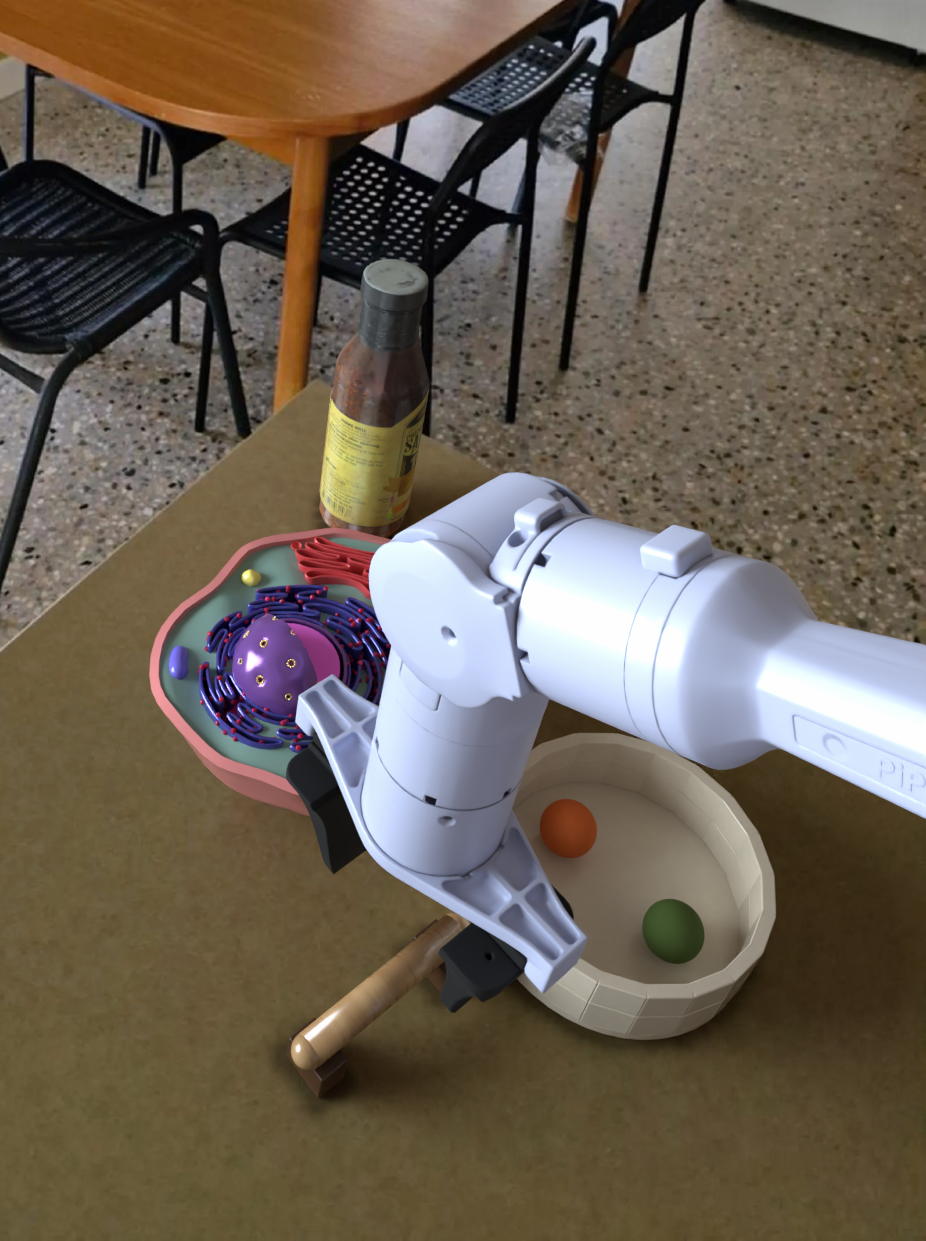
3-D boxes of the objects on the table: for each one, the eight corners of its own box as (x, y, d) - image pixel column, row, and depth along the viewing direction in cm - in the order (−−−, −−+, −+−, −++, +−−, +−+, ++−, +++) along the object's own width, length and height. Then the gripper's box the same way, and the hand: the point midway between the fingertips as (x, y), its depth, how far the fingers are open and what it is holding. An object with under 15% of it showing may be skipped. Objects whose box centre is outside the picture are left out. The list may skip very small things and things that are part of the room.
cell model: (542, 768, 72) (586, 644, 65) (247, 940, 63) (261, 818, 56) (372, 573, 83) (394, 448, 76) (99, 697, 74) (95, 568, 67)
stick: (451, 916, 63) (457, 900, 62) (474, 941, 62) (480, 925, 61) (282, 1054, 57) (284, 1039, 56) (304, 1084, 56) (307, 1069, 55)
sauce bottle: (408, 549, 85) (455, 315, 72) (317, 544, 85) (348, 308, 72) (402, 482, 90) (444, 252, 78) (315, 477, 90) (344, 246, 77)
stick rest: (430, 937, 64) (436, 918, 63) (463, 975, 63) (470, 956, 61) (285, 1056, 59) (288, 1037, 58) (317, 1100, 58) (322, 1082, 57)
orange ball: (601, 848, 68) (614, 818, 66) (564, 879, 66) (577, 849, 65) (559, 808, 70) (571, 778, 68) (523, 837, 68) (534, 807, 66)
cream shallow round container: (803, 926, 66) (832, 882, 63) (630, 1105, 59) (655, 1064, 56) (593, 736, 74) (611, 689, 71) (418, 871, 67) (431, 825, 64)
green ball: (706, 951, 64) (724, 922, 62) (670, 987, 62) (687, 958, 60) (660, 906, 66) (675, 876, 64) (623, 939, 64) (638, 910, 62)
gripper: (673, 828, 45) (586, 1001, 53) (397, 574, 53) (361, 759, 62) (540, 945, 41) (470, 1110, 49) (266, 652, 49) (247, 837, 58)
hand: (401, 922), depth 55 cm, fingers open, 7 cm apart
